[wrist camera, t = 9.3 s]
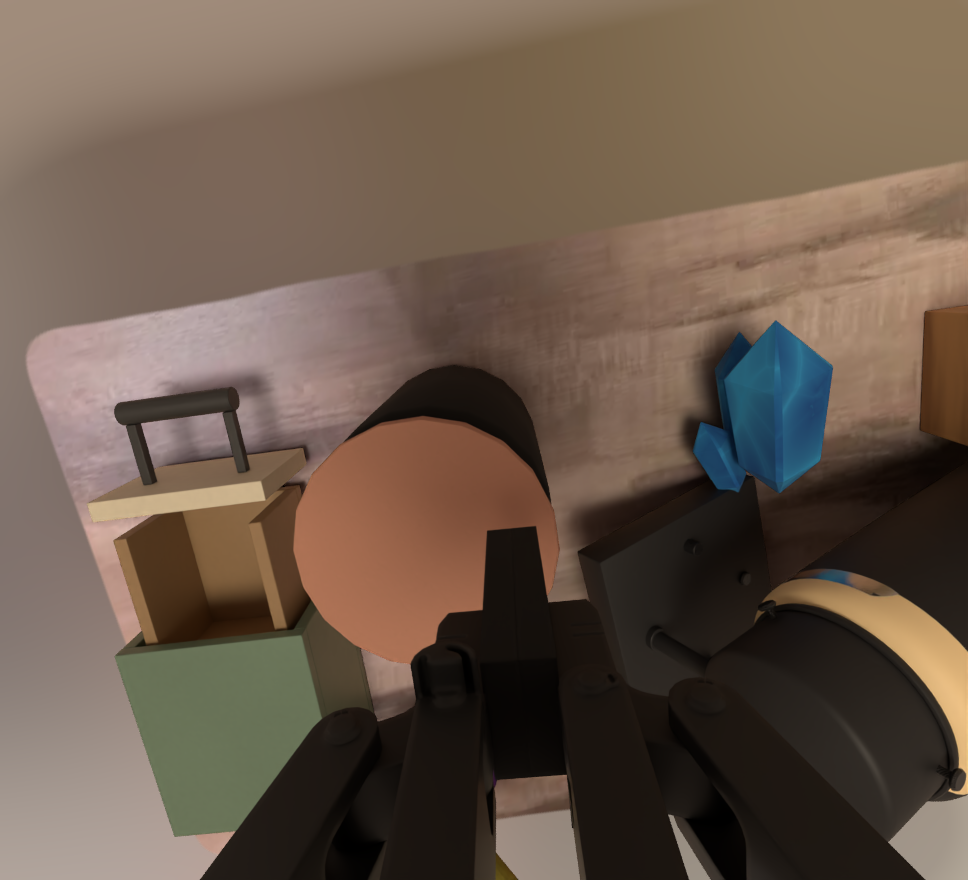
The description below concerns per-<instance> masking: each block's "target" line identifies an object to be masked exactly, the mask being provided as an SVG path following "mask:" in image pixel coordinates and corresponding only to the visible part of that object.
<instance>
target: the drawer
mask: <svg viewBox="0 0 968 880" xmlns="http://www.w3.org/2000/svg"><path fill="white" fill-rule="evenodd" d="M238 407H239V396H238V393H237V391H236V389H235V388H233V387H227V388H220V389H213V390H205V391H198V392H191V393H184V394H177V395H170V396H162V397H155V398H148V399H141V400H134V401H127V402H120V403H118V404H117V405H116V406H115V409H114V414H115V418H116V420H117V421H118V422H119V423H120V424H121V425H127V426H126V428H127V432H128V435H129V439H130V442H131V445H132V449H133V452H134V455H135V459H136V462H137V466H138V469H139V472H140V477H138V478H136V479H134V480H132V481H130V482H128V483H126V484H124V485H122V486H120V487H118V488H116V489H114V490H112V491H110V492H108V493H106V494H105V495H103V496H101V497H99V498H97V499H95V500H93V501H91V502H89V503H87V506H88V509H89V512H90V515H91V518H92V521H93V522H100V521H108V520H116V519H124V518H132V517H139V516H147V515H153V516H151V517H149V518H148V519H146V520H145V521H143V522H142V523H140V524H138V525H137V526H135V527H134V528H132V529H131V530H129V531H127V532H126V533H124V534H123V535H121V536H120V537H118V538H117V539H115V540H114V544H115V548H116V551H117V554H118V557H119V560H120V563H121V567H122V570H123V573H124V576H125V579H126V582H127V586H128V589H129V592H130V595H131V598H132V601H133V604H134V608H135V611H136V614H137V617H138V620H139V623H140V627H141V630H142V633H143V636H144V639H145V642H146V646H152V645H161V644H170V643H179V642H188V641H196V640H205V639H214V638H223V637H232V636H241V635H250V634H258V633H267V632H276V631H285V630H294V628H295V626H296V625H297V623H298V621H299V620H300V618H301V617H302V615H303V613H304V612H305V610H306V608H307V607H308V605H309V604H310V602H311V598H310V597H309V595H308V594H307V592H306V591H305V589H304V587H303V584H302V581H301V577H300V573H299V569H298V566H297V562H296V558H295V554H294V551H293V546H294V533H295V519H296V509H297V507H298V505H299V502H300V500H301V498H302V494H301V490H300V486H299V485H296V486H288V487H281V486H282V485H284V484H285V483H286V482H287V481H288V480H289V479H290V478H292V477H293V476H294V475H295V474H296V473H297V472H298V471H300V470H301V469H302V468H303V467H304V466H305V465H306V464H307V463H306V459H305V454H304V450H303V448H298V449H291V450H283V451H276V452H268V453H261V454H253V455H247V454H246V450H245V446H244V442H243V438H242V434H241V430H240V426H239V422H238V418H237V414H236V410H237V409H238ZM219 412H223V417H224V421H225V425H226V429H227V433H228V437H229V441H230V445H231V449H232V453H233V457H230V458H223V459H215V460H208V461H200V462H192V463H185V464H177V465H170V466H162V467H158V468H156V469H154V468H153V464H152V461H151V457H150V454H149V450H148V447H147V443H146V440H145V437H144V433H143V430H142V426H141V423H146V422H154V421H161V420H168V419H176V418H183V417H190V416H197V415H205V414H212V413H219Z"/></svg>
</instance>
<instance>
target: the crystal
mask: <svg viewBox="0 0 968 880" xmlns="http://www.w3.org/2000/svg"><path fill="white" fill-rule="evenodd" d="M832 371H833V367H832V365H831V364H830V363H828V362H827V361H826V360H825V359H823V358H822V357H821V356H820V355H818V354H817V353H816V352H815V351H813V350H812V349H811V348H810V347H808V346H807V345H806V344H805V343H803V342H802V341H801V340H800V339H798V338H797V337H796V336H795V335H793V334H792V333H791V332H790V331H788V330H787V329H786V328H785V327H783V326H782V325H781V324H780V323H778V322H777V321H776V320H775V322H774V323H773V324H772V325H771V326H770V327H769V328H768V329H767V330H766V332H765V333H764V334H763V335H762V336H761V337H760V338H759V339H758V340H757V342H756V343H755V344H754V345H753V346H751V345H750V344H749V342H748V341H747V340H746V339H745V338H744V336H743V335H742V334H741V333H740V332H739V333H738V334H737V336H736V337H735V339H734V340H733V342H732V344H731V345H730V347H729V348H728V350H727V351H726V353H725V354H724V356H723V357H722V359H721V360H720V362H719V364H718V365H717V367H716V368H715V376H716V382H717V389H718V396H719V402H720V409H721V416H722V423H723V429H721V428H718V427H715V426H712V425H709V424H706V423H703V422H701V423H700V426H699V430H698V434H697V437H696V441H695V444H694V448H693V453H694V454H695V456H696V457H697V459H698V460H699V462H700V463H701V465H702V466H703V468H704V469H705V471H706V473H707V474H708V476H709V477H710V479H711V480H712V482H713V483H714V485H715V486H716V488H717V489H729V490H734V491H736V492H739V491H740V488H741V486H742V484H743V481H744V478H745V476H746V471H748V472H749V473H751V474H752V475H753V476H755V477H756V478H758V479H759V480H761V481H762V482H763V483H765V484H766V485H768V486H769V487H771V488H772V489H773V490H775V491H776V492H778V493H779V494H780V493H781V492H782V491H783V490H784V489H786V488H787V487H788V486H789V485H791V484H792V483H793V482H794V481H796V480H797V479H798V478H799V477H801V476H802V475H803V474H804V473H806V472H807V471H808V470H809V469H811V468H812V467H813V466H814V465H816V464H817V463H818V462H819V461H820V458H821V451H822V444H823V436H824V429H825V422H826V415H827V407H828V400H829V393H830V386H831V379H832ZM745 470H746V471H745Z"/></svg>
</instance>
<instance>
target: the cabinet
mask: <svg viewBox="0 0 968 880" xmlns="http://www.w3.org/2000/svg"><path fill="white" fill-rule="evenodd" d="M115 659H116V662H117V665H118V668H119V671H120V674H121V677H122V680H123V683H124V686H125V689H126V692H127V695H128V698H129V701H130V704H131V707H132V710H133V713H134V716H135V719H136V722H137V725H138V728H139V731H140V734H141V737H142V740H143V743H144V746H145V749H146V752H147V755H148V758H149V761H150V764H151V767H152V770H153V773H154V776H155V779H156V782H157V785H158V788H159V791H160V794H161V797H162V800H163V803H164V806H165V809H166V812H167V815H168V818H169V821H170V824H171V827H172V830H173V833H174V836H175V837H177V836H189V835H199V834H210V833H221V832H232V831H236V830H237V829H238V828H239V826H240V825H241V824H242V822H243V821H244V820H245V818H246V817H247V816H248V814H249V813H250V812H251V810H252V809H253V807H254V806H255V805H256V803H257V802H258V801H259V799H260V798H261V797H262V795H263V794H264V793H265V791H266V790H267V789H268V787H269V786H270V785H271V783H272V782H273V780H274V779H275V778H276V776H277V775H278V774H279V772H280V771H281V770H282V768H283V767H284V766H285V764H286V763H287V762H288V760H289V759H290V758H291V756H292V755H293V753H294V752H295V751H296V749H297V748H298V747H299V745H300V744H301V743H302V741H303V740H304V739H305V737H306V736H307V735H308V733H309V732H310V731H311V729H312V728H313V727H314V726H315V725H316V724H317V723H318V722H319V721H320V720H321V719H322V718H324V717H325V716H327V715H329V714H331V713H332V712H334V711H338V710H341V709H344V708H351V707H361V708H364V709H368V710H370V711H371V712H372V713H373V714H374V710H373V706H372V701H371V696H370V692H369V687H368V683H367V678H366V673H365V669H364V664H363V660H362V655H361V650H360V647H358V646H356V645H354V644H353V643H351V642H350V641H349V640H348V639H347V638H345V637H344V636H343V635H342V634H341V633H340V632H338V631H337V630H336V629H335V628H334V627H332V626H331V625H330V624H329V623H328V622H327V621H325V620H324V618H323V617H322V615H321V614H320V612H319V611H318V609H317V608H316V606H315V604H314V603H313V601H312V600H311V602H310V604H309V605H308V607H307V608H306V610H305V612H304V613H303V615H302V617H301V618H300V620H299V621H298V623H297V625H296V626H295V628H294V630H285V631H276V632H267V633H258V634H250V635H241V636H232V637H223V638H214V639H205V640H196V641H188V642H179V643H170V644H161V645H152V646H146V642H145V639H144V636H143V633H142V631H141V632H140V633H139V634H138V635H137V636H136V637H135V638H134V639H133V640H131V641H130V642H129V643H128V644H127V645H126V646H125V647H124V648H123V649H122V650H121V651H120V652H119V653H117V654H116V656H115Z"/></svg>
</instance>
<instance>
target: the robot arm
mask: <svg viewBox="0 0 968 880" xmlns="http://www.w3.org/2000/svg"><path fill="white" fill-rule="evenodd" d="M410 665H411V671H412V677H413V683H414V689H415V695H416V703H415V706H414V707H413V708H411V709H409V710H408V711H406V712H404V713H402V714H400V715H397V716H395V717H392V718H389V719H386V720H382V721H379V722H377V718H376V715H374V714H373V713H372V712H371V711H370V710H368V709H364V708H361V707H351V708H344V709H341V710H338V711H334V712H332V713H331V714H329V715H327V716H325V717H324V718H322V719H321V720H320V721H319V722H318V723H317V724H316V725H315V726H314V727H313V728H312V729H311V731H310V732H309V733H308V735H307V736H306V737H305V739H304V740H303V741H302V743H301V744H300V745H299V747H298V748H297V749H296V751H295V752H294V753H293V755H292V756H291V758H290V759H289V760H288V762H287V763H286V764H285V766H284V767H283V768H282V770H281V771H280V772H279V774H278V775H277V776H276V778H275V779H274V780H273V782H272V783H271V785H270V786H269V787H268V789H267V790H266V791H265V793H264V794H263V795H262V797H261V798H260V799H259V801H258V802H257V803H256V805H255V806H254V807H253V809H252V810H251V812H250V813H249V814H248V816H247V817H246V818H245V820H244V821H243V822H242V824H241V825H240V826H239V828H238V829H237V830H236V832H235V833H234V834H233V836H232V837H231V839H230V840H229V841H228V843H227V844H226V845H225V847H224V848H223V849H222V851H221V852H220V853H219V855H218V856H217V858H216V859H215V860H214V861H213V863H212V864H211V866H210V867H209V868H208V870H207V871H206V872H205V874H204V875H203V877H202V878H201V879H200V880H496V798H495V791H494V783H493V770H494V777H495V780H500V779H514V778H528V777H541V776H555V775H567V780H568V791H569V801H570V811H571V821H572V828H573V829H574V837H575V844H576V852H577V859H578V867H579V874H580V880H689V879H688V875H687V872H686V869H685V866H684V863H683V860H682V857H681V853H680V850H679V847H678V844H677V841H676V838H675V835H674V832H673V828H672V825H671V822H670V819H669V816H668V814H669V815H674V818H675V821H676V823H677V826H678V828H679V829H680V831H681V832H682V834H683V836H684V837H685V839H686V840H687V842H688V844H689V845H690V847H691V848H692V850H693V852H694V853H695V855H696V857H697V858H698V860H699V861H700V863H701V865H702V866H703V868H704V869H705V871H706V872H707V874H708V876H709V877H710V879H711V880H925V879H924V878H923V877H922V876H921V875H920V874H919V873H918V872H917V871H916V870H915V869H914V868H913V867H912V866H911V865H910V864H909V863H908V862H907V861H906V860H905V859H904V858H903V857H902V856H901V855H900V854H899V853H898V852H897V851H896V850H895V849H894V848H893V847H892V846H891V845H890V844H889V843H888V842H887V841H886V840H885V839H884V838H883V837H882V836H881V835H880V834H879V833H878V832H877V831H876V830H875V829H874V828H873V827H872V826H871V825H870V824H869V823H868V822H867V821H866V820H865V819H864V818H863V817H862V816H861V815H860V814H859V813H858V812H857V811H856V810H855V809H854V808H853V807H852V806H851V805H850V804H849V803H848V802H847V801H846V800H845V799H844V798H843V797H842V796H841V795H840V794H839V793H838V792H837V791H836V790H835V789H834V788H833V787H832V786H831V785H830V784H829V783H828V782H827V781H826V780H825V779H824V778H823V777H822V776H821V775H820V774H819V773H818V772H817V771H816V770H815V769H814V768H813V767H812V766H811V765H810V764H809V763H808V762H807V761H806V760H805V759H804V758H803V757H802V756H801V755H800V754H799V753H798V752H797V751H796V750H795V749H794V748H793V747H792V746H791V745H790V744H789V743H788V742H787V741H786V740H785V739H784V738H783V737H782V736H781V735H780V734H779V733H778V732H777V731H776V730H775V729H774V728H773V727H772V726H771V725H770V724H769V723H768V722H767V721H766V720H765V719H764V718H763V717H762V716H761V715H760V714H759V713H758V712H757V711H756V710H755V709H754V708H753V707H752V706H751V705H750V704H749V703H748V702H747V701H746V700H745V699H744V698H743V697H742V696H741V695H740V694H739V693H738V692H737V691H736V690H734V689H733V688H732V687H730V686H729V685H727V684H725V683H723V682H720V681H717V680H715V679H709V678H702V677H696V678H687V679H684V680H682V681H679V682H677V683H675V684H674V686H673V687H672V688H671V689H670V690H669V696H662V695H656V694H650V693H646V692H642V691H640V690H637V689H635V688H633V687H631V686H629V685H628V684H626V682H625V680H624V679H623V677H622V675H621V674H620V673H618V672H617V671H616V667H615V664H614V661H613V658H612V655H611V651H610V648H609V645H608V642H607V638H606V635H605V633H604V629H603V625H602V623H601V619H600V616H599V613H598V609H597V608H595V607H594V606H593V605H592V604H591V603H590V602H589V601H587V600H586V599H583V600H572V601H560V602H549V603H548V598H547V592H546V586H545V579H544V573H543V566H542V560H541V554H540V547H539V541H538V534H537V528H536V526H529V527H519V528H508V529H498V530H488V531H487V538H486V556H485V574H484V592H483V609H482V610H476V611H465V612H454V613H448V614H447V615H446V617H445V618H444V619H443V620H442V621H441V622H440V624H439V625H438V630H437V636H436V641H435V644H432V645H430V646H428V647H425V648H423V649H422V650H421V651H419V652H418V653H417V654H416V655H415V656H414V657H413V659H412V661H411V663H410Z"/></svg>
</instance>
